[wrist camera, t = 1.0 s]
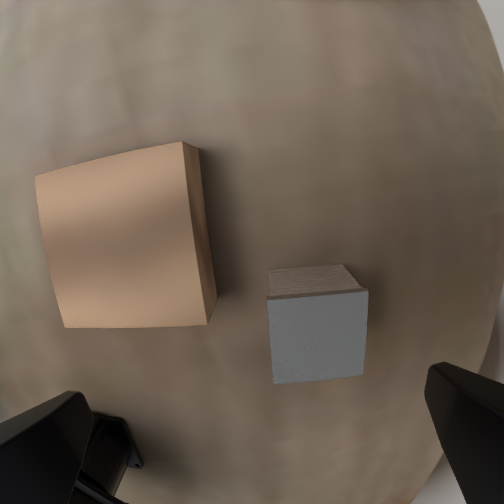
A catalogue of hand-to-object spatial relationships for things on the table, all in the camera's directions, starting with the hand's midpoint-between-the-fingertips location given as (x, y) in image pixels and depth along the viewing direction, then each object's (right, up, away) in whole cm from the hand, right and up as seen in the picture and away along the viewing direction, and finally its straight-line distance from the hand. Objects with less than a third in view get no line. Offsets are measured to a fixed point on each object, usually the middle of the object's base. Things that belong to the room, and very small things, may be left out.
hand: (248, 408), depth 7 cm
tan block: (-7, +5, +12) cm, 15 cm away
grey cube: (+3, +1, +12) cm, 13 cm away
